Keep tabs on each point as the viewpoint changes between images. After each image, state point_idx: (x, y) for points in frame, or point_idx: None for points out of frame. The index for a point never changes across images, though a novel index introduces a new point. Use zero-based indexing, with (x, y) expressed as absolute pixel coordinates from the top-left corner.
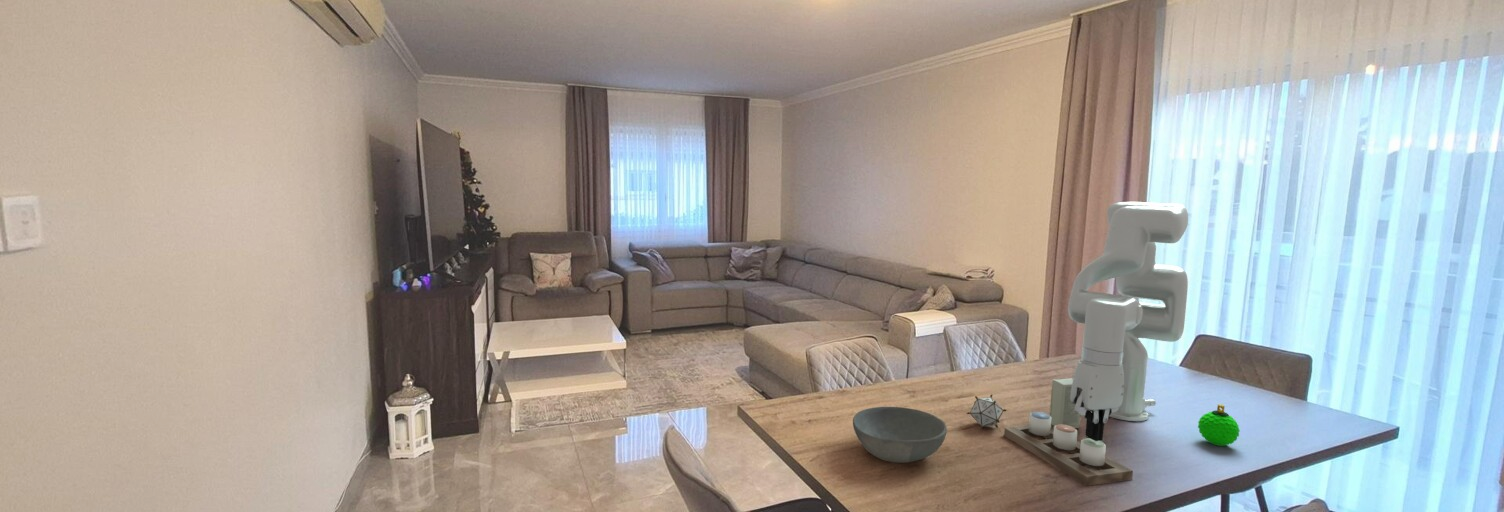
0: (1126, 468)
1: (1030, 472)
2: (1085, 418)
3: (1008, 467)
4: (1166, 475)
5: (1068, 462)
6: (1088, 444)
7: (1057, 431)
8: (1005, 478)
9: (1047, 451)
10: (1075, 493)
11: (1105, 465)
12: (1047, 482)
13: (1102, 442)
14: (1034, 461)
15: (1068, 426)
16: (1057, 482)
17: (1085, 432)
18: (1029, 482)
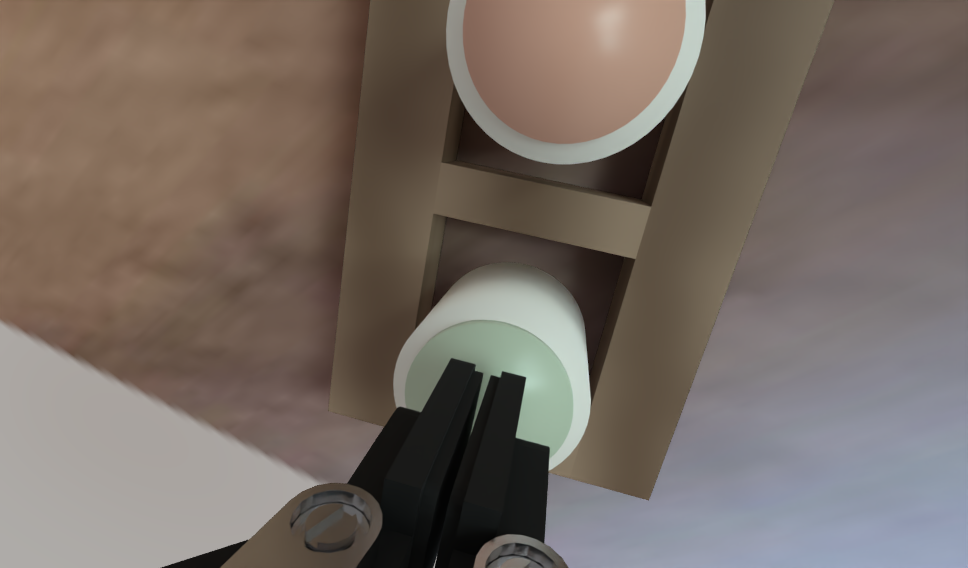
0: (644, 469)
1: (191, 160)
2: (305, 507)
3: (113, 58)
4: (893, 534)
5: (377, 256)
6: (408, 401)
7: (449, 27)
8: (30, 152)
9: (382, 70)
10: (245, 399)
11: (601, 362)
12: (199, 276)
13: (555, 447)
14: (314, 61)
15: (647, 10)
16: (245, 299)
17: (447, 367)
18: (117, 236)
